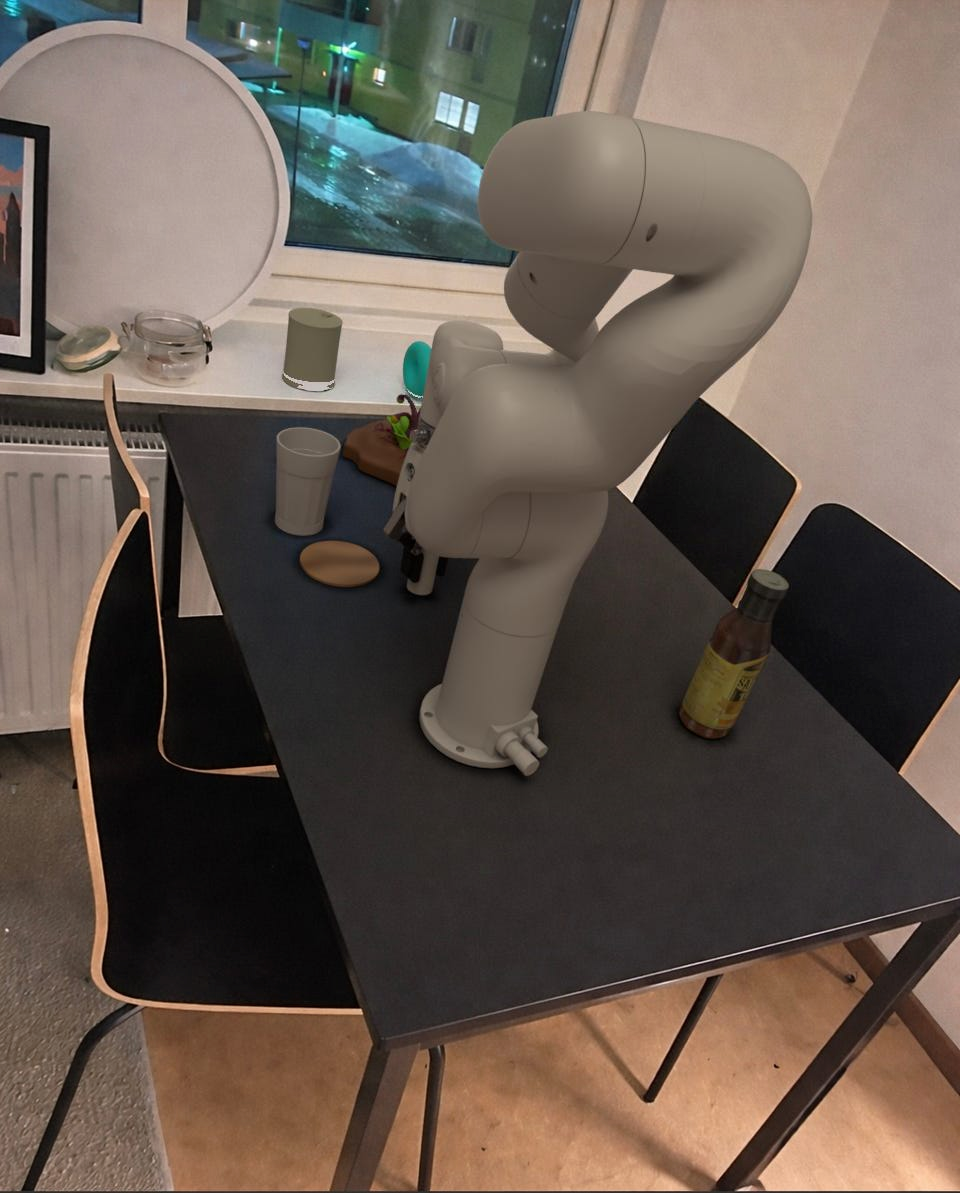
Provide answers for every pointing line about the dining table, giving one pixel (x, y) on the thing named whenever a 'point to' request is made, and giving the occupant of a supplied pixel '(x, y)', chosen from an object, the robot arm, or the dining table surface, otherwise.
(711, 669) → the sauce bottle
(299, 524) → the cup
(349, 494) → the dining table surface
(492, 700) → the robot arm
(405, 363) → the teal oval lobes
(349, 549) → the coaster
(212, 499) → the dining table surface
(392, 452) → the plant
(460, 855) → the dining table surface
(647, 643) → the dining table surface
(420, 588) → the marker
